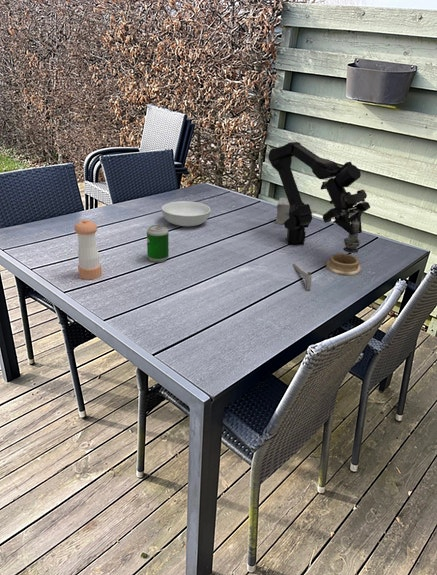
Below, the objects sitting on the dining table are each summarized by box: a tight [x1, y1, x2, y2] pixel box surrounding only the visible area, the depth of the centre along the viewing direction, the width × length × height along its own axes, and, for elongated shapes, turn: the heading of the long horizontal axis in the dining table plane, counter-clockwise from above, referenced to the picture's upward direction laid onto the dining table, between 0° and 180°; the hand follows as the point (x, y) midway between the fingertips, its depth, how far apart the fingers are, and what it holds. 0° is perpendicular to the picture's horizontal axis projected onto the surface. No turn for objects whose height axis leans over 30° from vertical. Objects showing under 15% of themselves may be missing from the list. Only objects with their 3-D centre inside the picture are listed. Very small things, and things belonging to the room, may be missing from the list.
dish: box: [325, 253, 362, 277], centre depth 170 cm, size 12×12×4 cm
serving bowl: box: [161, 200, 212, 227], centre depth 205 cm, size 21×21×7 cm
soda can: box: [146, 224, 170, 263], centre depth 169 cm, size 8×8×12 cm
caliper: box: [292, 262, 312, 291], centre depth 161 cm, size 20×1×6 cm, turn 5°
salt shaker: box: [342, 218, 362, 254], centre depth 166 cm, size 6×6×12 cm
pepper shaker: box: [74, 218, 102, 280], centre depth 153 cm, size 7×7×19 cm
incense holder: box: [275, 197, 290, 225], centre depth 210 cm, size 10×8×10 cm
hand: (356, 233), depth 164 cm, fingers closed on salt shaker, 4 cm apart
